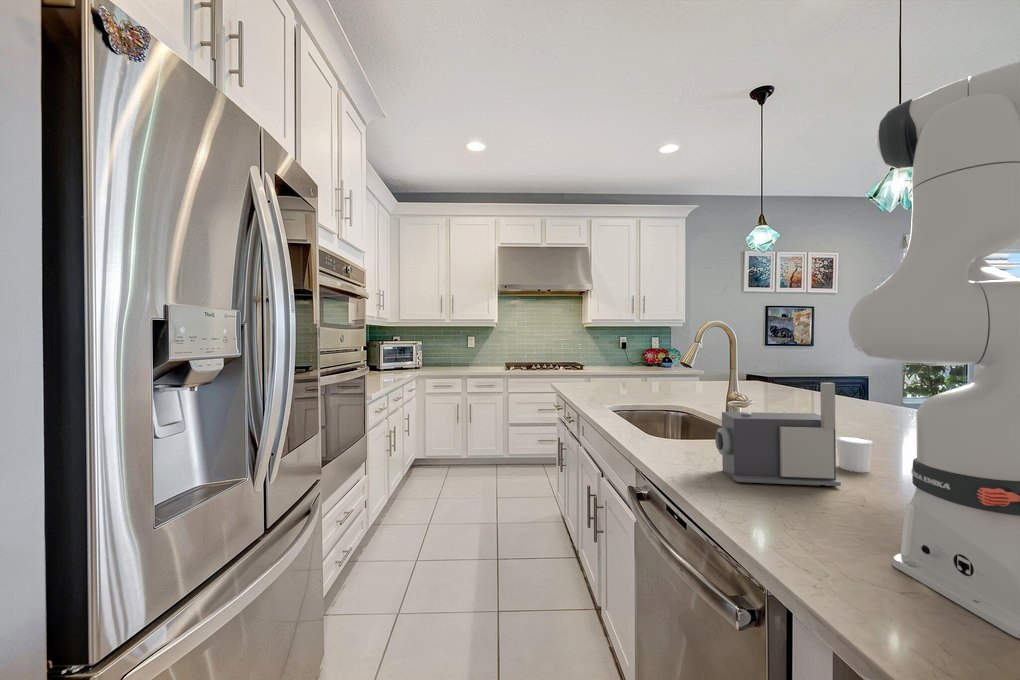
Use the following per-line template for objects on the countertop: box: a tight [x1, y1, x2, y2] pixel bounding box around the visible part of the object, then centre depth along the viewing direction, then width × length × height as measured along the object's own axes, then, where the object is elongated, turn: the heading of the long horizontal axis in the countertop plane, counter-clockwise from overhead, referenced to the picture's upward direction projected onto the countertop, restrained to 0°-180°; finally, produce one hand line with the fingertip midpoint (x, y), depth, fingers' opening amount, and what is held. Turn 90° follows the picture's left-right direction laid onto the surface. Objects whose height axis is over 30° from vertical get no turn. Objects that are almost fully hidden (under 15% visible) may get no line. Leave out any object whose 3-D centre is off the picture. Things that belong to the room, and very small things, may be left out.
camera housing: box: [714, 411, 842, 487], centre depth 94 cm, size 10×22×15 cm, turn 80°
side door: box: [780, 382, 836, 479], centre depth 89 cm, size 1×10×20 cm, turn 80°
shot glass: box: [835, 436, 873, 473], centre depth 100 cm, size 7×7×7 cm
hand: (860, 344), depth 87 cm, fingers closed
